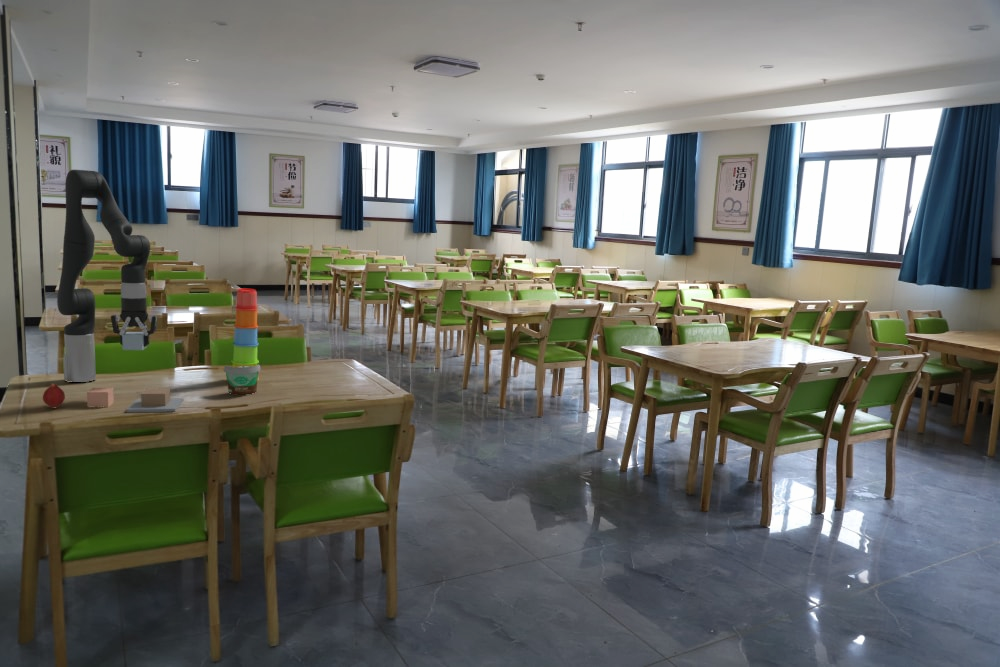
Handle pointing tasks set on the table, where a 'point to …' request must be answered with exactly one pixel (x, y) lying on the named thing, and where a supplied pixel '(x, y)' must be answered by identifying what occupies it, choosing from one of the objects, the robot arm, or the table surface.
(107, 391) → the brick
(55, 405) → the onion
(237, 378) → the food container
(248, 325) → the stacking cups
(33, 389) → the table surface
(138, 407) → the tower base
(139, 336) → the brick
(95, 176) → the robot arm
